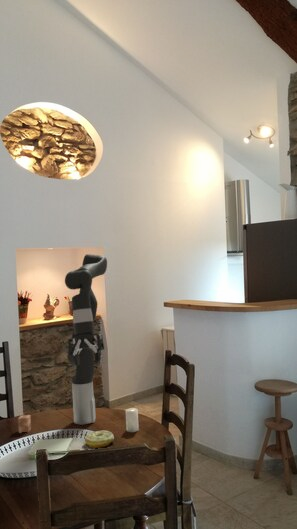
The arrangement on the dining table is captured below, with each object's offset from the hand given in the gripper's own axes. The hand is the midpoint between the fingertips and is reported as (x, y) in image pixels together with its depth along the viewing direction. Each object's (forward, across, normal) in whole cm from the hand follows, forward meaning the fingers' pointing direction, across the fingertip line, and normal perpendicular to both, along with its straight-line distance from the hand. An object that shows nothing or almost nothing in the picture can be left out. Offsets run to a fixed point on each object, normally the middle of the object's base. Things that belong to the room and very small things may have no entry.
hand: (87, 364), depth 157 cm
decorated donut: (+30, +2, -5) cm, 31 cm away
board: (+29, +18, +3) cm, 34 cm away
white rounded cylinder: (+29, -6, -20) cm, 36 cm away
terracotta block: (+25, +39, -9) cm, 47 cm away
